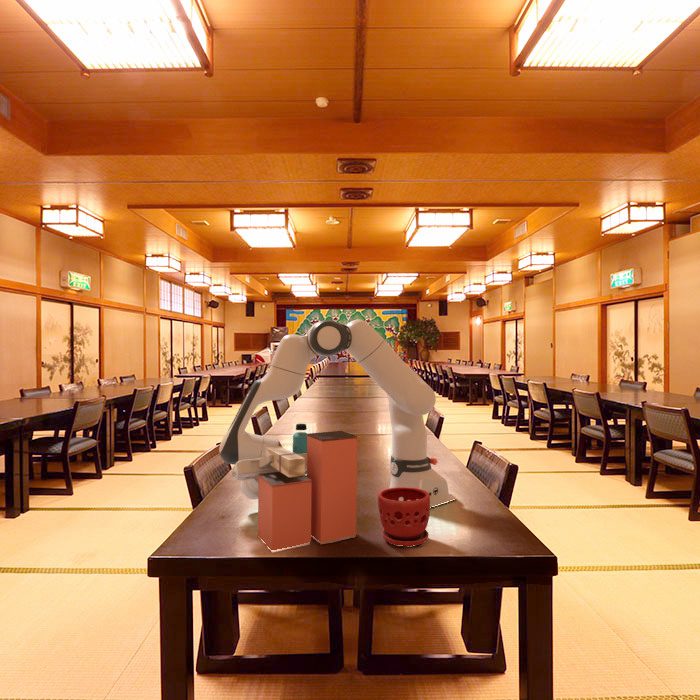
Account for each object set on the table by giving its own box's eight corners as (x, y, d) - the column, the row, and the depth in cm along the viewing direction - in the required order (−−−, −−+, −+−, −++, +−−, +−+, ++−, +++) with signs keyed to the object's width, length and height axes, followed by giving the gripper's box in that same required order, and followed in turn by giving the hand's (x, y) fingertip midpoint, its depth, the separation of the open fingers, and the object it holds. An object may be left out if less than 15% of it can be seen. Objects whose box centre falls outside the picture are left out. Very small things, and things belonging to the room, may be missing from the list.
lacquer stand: (334, 521, 128) (335, 428, 128) (356, 538, 117) (357, 436, 117) (257, 536, 118) (258, 435, 118) (274, 555, 107) (274, 444, 107)
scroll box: (280, 461, 124) (280, 446, 124) (305, 475, 109) (305, 458, 109) (265, 462, 122) (265, 447, 122) (288, 477, 107) (288, 459, 107)
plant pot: (424, 529, 123) (424, 485, 123) (434, 551, 110) (435, 501, 110) (375, 530, 122) (375, 485, 122) (380, 551, 109) (380, 501, 109)
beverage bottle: (300, 473, 178) (301, 421, 178) (312, 476, 174) (313, 423, 174) (288, 476, 173) (288, 423, 173) (300, 480, 169) (301, 425, 169)
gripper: (227, 466, 124) (239, 448, 113) (298, 458, 134) (315, 441, 123) (230, 489, 121) (242, 474, 111) (302, 479, 131) (319, 464, 120)
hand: (281, 457), depth 117 cm, fingers closed on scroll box, 4 cm apart
